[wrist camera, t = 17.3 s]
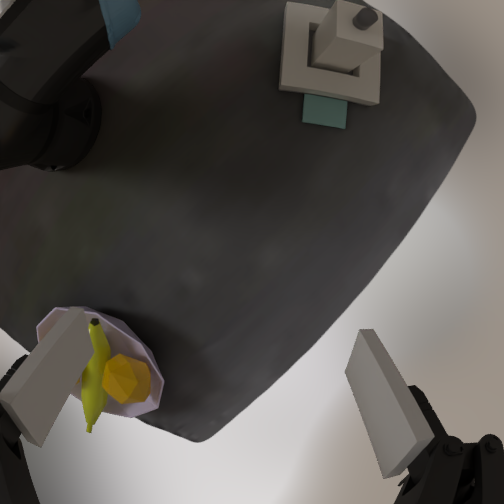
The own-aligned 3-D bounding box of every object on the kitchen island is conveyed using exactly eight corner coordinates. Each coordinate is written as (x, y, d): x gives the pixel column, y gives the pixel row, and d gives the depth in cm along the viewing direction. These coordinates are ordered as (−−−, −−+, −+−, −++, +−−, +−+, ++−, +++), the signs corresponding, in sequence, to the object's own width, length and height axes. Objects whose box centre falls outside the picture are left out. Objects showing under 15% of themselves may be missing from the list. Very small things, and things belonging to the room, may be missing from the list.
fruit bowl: (68, 262, 42) (31, 292, 31) (196, 351, 48) (187, 398, 37) (39, 352, 49) (16, 382, 38) (136, 416, 55) (125, 453, 44)
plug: (346, 74, 32) (393, 43, 19) (310, 66, 32) (344, 28, 18) (347, 43, 30) (391, 4, 17) (312, 36, 30) (343, -11, 17)
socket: (366, 133, 36) (376, 132, 32) (275, 118, 35) (278, 116, 32) (370, 30, 30) (379, 22, 27) (284, 11, 29) (287, 1, 26)
